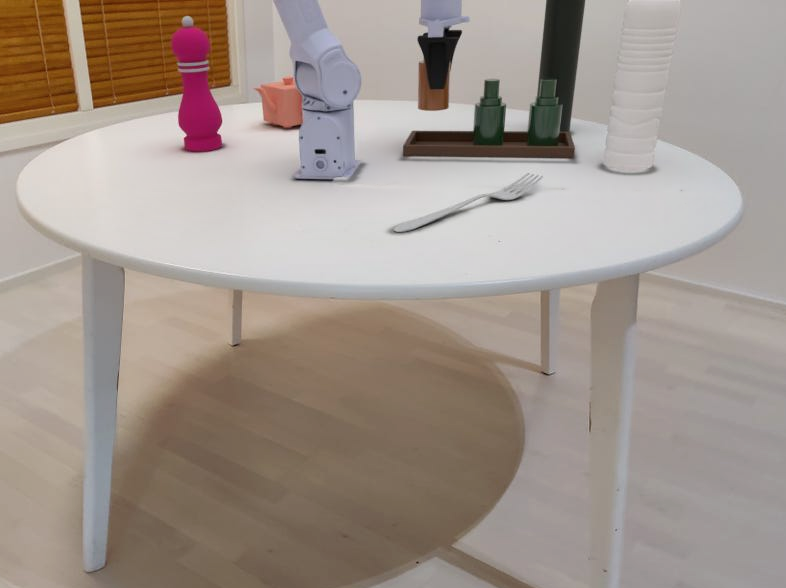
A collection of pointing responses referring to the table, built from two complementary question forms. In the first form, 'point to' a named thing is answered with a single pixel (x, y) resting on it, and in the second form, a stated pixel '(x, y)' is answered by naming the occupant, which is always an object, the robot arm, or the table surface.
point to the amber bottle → (431, 92)
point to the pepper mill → (196, 89)
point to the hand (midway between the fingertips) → (438, 86)
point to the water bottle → (640, 83)
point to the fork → (500, 195)
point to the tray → (463, 145)
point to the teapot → (281, 103)
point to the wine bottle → (562, 51)
